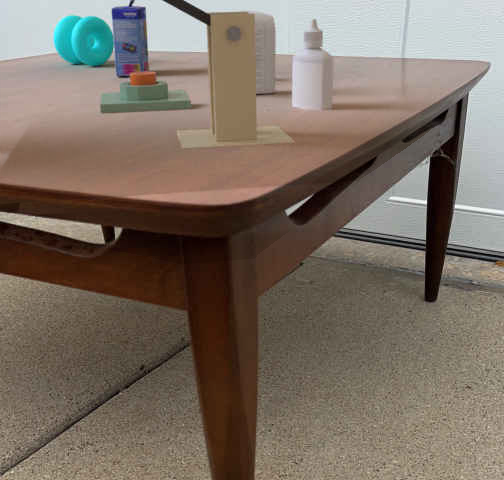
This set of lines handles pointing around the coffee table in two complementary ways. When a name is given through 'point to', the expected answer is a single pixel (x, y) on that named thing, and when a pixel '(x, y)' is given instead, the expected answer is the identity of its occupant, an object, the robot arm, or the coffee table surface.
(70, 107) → the coffee table surface
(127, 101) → the button box
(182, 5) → the lever
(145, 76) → the button
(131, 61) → the ink cartridge box
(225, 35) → the bracket
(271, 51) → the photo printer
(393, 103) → the coffee table surface
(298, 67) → the eye dropper bottle
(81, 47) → the cyan double wheel
